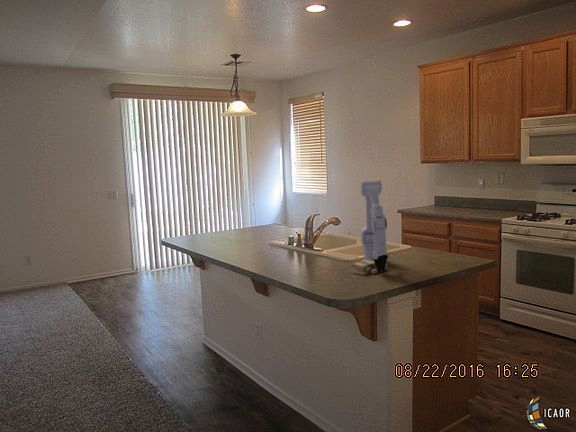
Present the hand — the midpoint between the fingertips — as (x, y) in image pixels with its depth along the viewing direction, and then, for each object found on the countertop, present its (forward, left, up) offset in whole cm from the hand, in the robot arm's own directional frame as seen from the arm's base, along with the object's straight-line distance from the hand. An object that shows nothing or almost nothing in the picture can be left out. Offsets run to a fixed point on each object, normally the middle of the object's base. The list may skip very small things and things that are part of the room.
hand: (381, 271), depth 227 cm
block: (+1, -8, -1) cm, 9 cm away
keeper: (-2, -2, -1) cm, 3 cm away
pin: (+1, -10, -1) cm, 10 cm away
